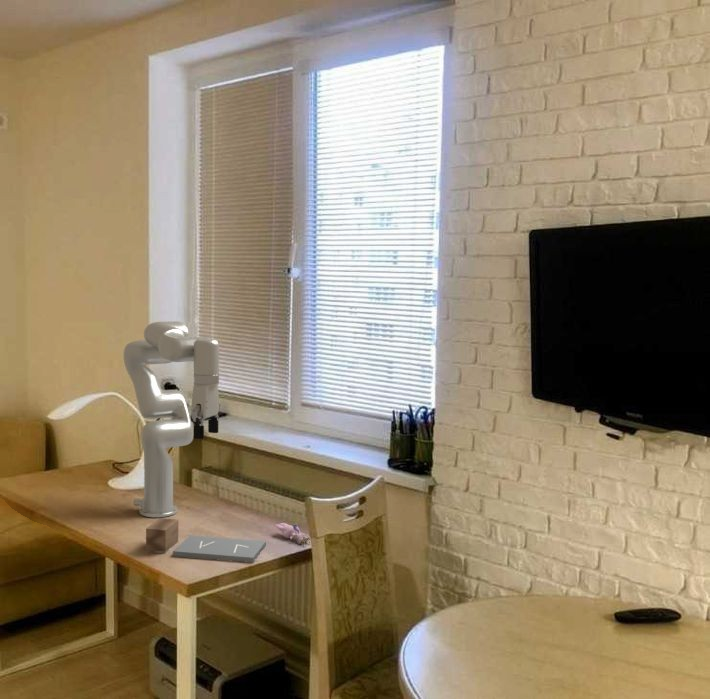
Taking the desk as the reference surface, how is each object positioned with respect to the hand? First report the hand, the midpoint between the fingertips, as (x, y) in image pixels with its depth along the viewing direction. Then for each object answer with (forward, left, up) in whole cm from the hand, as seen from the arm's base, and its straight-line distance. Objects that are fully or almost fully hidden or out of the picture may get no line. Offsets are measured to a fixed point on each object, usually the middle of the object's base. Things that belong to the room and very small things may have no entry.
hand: (206, 435), depth 237 cm
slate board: (+8, -9, -33) cm, 35 cm away
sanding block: (-10, -9, -33) cm, 35 cm away
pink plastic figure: (+26, +6, -33) cm, 42 cm away
